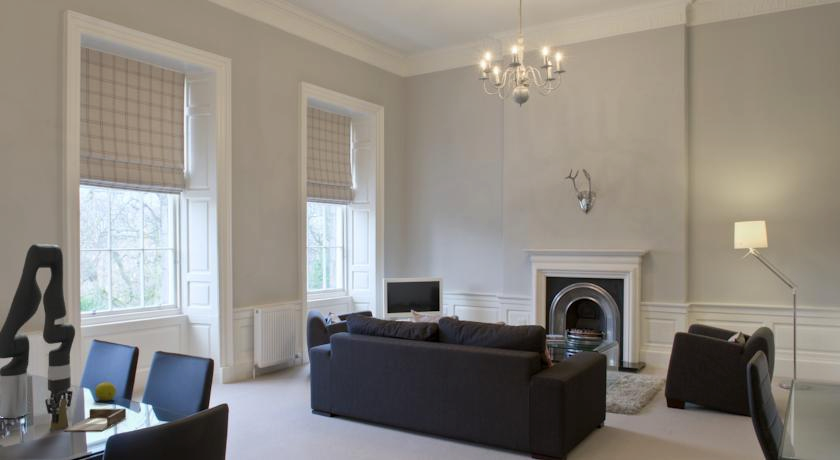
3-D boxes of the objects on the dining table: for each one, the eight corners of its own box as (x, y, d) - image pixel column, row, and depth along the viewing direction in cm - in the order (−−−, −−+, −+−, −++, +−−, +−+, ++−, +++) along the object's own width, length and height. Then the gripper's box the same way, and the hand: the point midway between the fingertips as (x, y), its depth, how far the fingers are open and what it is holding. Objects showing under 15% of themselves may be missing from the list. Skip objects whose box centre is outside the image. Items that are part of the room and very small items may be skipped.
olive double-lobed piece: (60, 430, 231) (60, 400, 231) (46, 429, 232) (46, 400, 232) (72, 425, 237) (72, 396, 237) (58, 424, 238) (58, 396, 238)
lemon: (119, 400, 273) (119, 382, 273) (100, 404, 267) (100, 385, 267) (110, 396, 280) (110, 379, 280) (91, 399, 275) (91, 381, 275)
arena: (64, 431, 229) (64, 422, 230) (91, 417, 247) (91, 408, 247) (101, 431, 229) (101, 422, 229) (125, 417, 247) (125, 408, 247)
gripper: (60, 372, 242) (60, 416, 242) (37, 381, 228) (37, 427, 228) (79, 372, 242) (79, 416, 242) (57, 380, 228) (57, 427, 227)
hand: (59, 421), depth 235 cm, fingers closed on olive double-lobed piece, 4 cm apart
